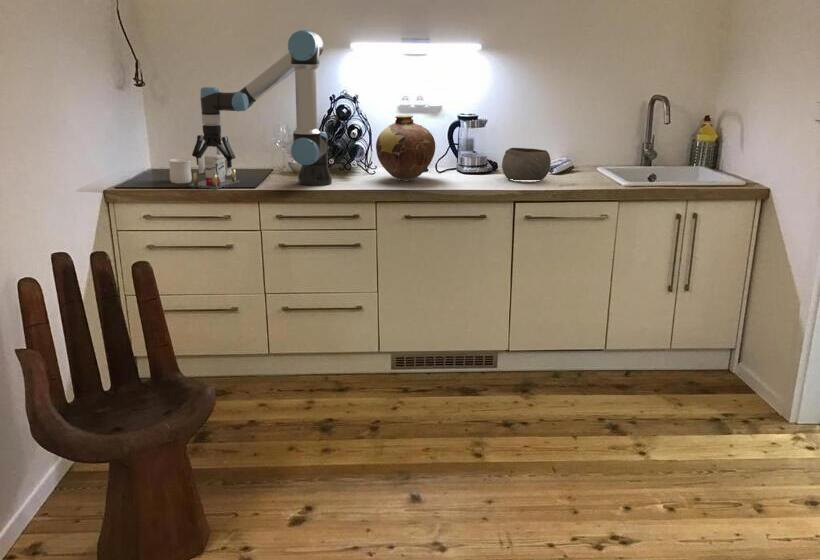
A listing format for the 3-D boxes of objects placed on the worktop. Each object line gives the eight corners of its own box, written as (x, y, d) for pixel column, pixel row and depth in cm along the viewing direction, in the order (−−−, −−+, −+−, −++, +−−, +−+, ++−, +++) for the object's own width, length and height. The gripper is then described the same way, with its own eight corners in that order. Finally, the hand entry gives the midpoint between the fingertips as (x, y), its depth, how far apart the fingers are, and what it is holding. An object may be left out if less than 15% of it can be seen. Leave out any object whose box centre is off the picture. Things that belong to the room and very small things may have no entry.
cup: (179, 184, 304) (177, 162, 301) (164, 182, 309) (162, 160, 306) (196, 181, 312) (195, 159, 309) (181, 179, 317) (180, 157, 314)
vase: (416, 188, 307) (418, 119, 298) (364, 181, 320) (364, 115, 311) (444, 179, 331) (447, 115, 322) (395, 174, 344) (396, 111, 334)
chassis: (240, 182, 311) (239, 169, 309) (217, 189, 295) (216, 175, 293) (213, 180, 315) (212, 167, 313) (189, 186, 299) (188, 172, 297)
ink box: (215, 184, 300) (214, 157, 296) (205, 183, 301) (203, 156, 297) (225, 181, 308) (224, 154, 304) (215, 180, 309) (214, 154, 305)
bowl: (559, 182, 331) (562, 150, 327) (526, 186, 318) (529, 153, 313) (523, 175, 349) (525, 145, 344) (491, 179, 335) (493, 147, 330)
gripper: (241, 125, 296) (244, 174, 303) (192, 122, 304) (195, 170, 310) (232, 126, 290) (234, 177, 296) (181, 123, 297) (185, 173, 304)
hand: (214, 174), depth 303 cm, fingers open, 13 cm apart
